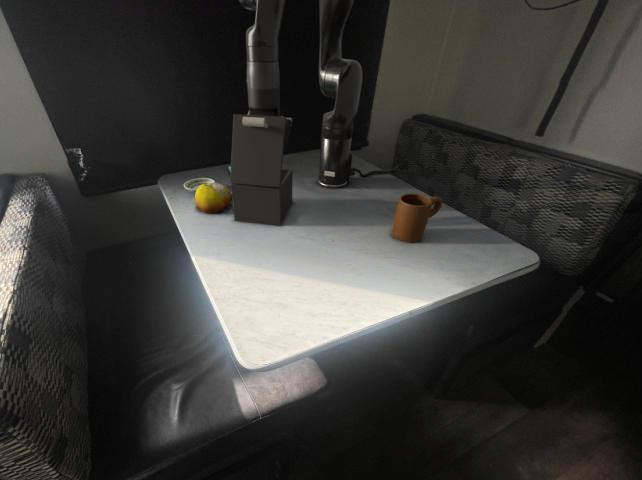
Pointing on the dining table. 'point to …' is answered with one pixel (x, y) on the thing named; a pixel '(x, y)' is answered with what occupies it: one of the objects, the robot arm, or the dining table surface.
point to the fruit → (212, 198)
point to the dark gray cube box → (263, 201)
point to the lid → (257, 150)
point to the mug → (413, 216)
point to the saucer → (196, 183)
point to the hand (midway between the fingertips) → (266, 160)
